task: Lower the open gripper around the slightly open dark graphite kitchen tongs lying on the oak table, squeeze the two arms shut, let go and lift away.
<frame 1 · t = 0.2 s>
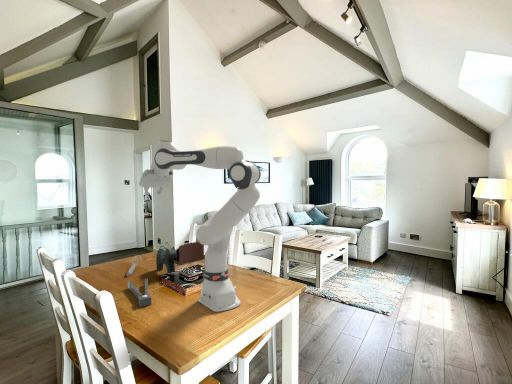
hand: (152, 194, 142), 51 cm above the table, tool tilted 20°, fingers open, 8 cm apart
tong hinge block: (144, 302, 126), on the table
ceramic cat: (165, 272, 168), on the table
kitchen whisk: (134, 269, 176), on the table
tong arm 1: (134, 290, 135), point 2 cm above the table, hinge at 8.0°
letter holder: (189, 260, 194), on the table
tong arm 2: (146, 288, 138), point 2 cm above the table, hinge at -8.0°
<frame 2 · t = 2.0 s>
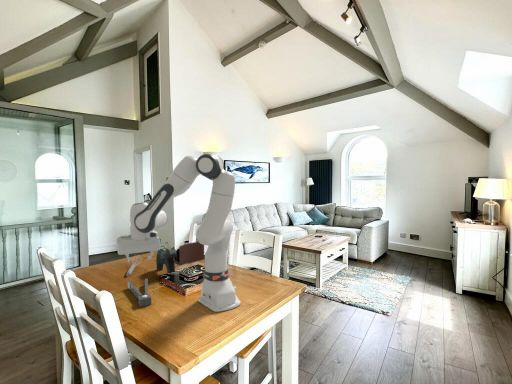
hand: (140, 260, 134), 18 cm above the table, tool pointing down, fingers open, 8 cm apart
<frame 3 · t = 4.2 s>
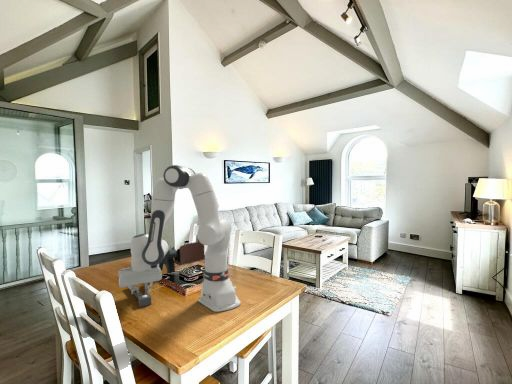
hand: (141, 291, 135), 2 cm above the table, tool pointing down, fingers open, 6 cm apart
tong arm 1: (134, 290, 135), point 2 cm above the table, hinge at 7.7°, touching gripper
tong arm 2: (146, 288, 138), point 2 cm above the table, hinge at -7.7°, touching gripper
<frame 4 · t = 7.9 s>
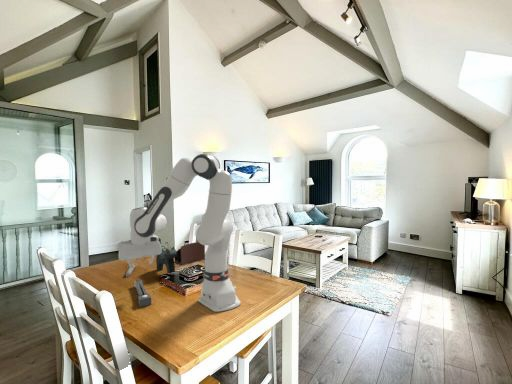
hand: (141, 265, 134), 15 cm above the table, tool pointing down, fingers open, 8 cm apart
tong arm 1: (138, 289, 136), point 2 cm above the table, hinge at -0.3°
tong arm 2: (142, 289, 138), point 2 cm above the table, hinge at 0.1°
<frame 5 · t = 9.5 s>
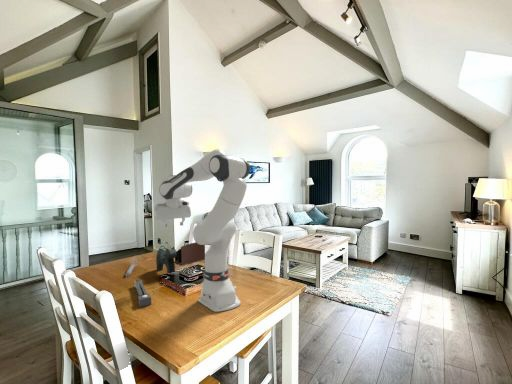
hand: (173, 226, 155), 32 cm above the table, tool pointing down, fingers open, 8 cm apart
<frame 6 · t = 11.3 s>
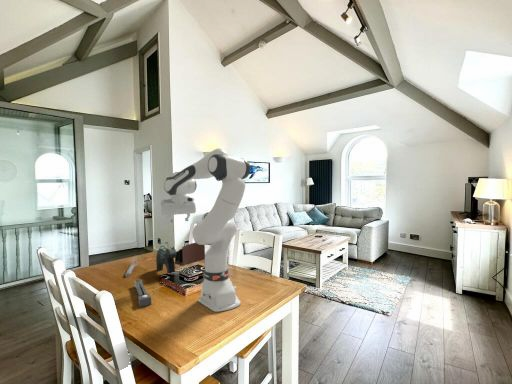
hand: (179, 221, 159), 34 cm above the table, tool pointing down, fingers open, 8 cm apart
at the end: tong arm 1 at +0° (first picture: +8°); tong arm 2 at +0° (first picture: -8°) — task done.
